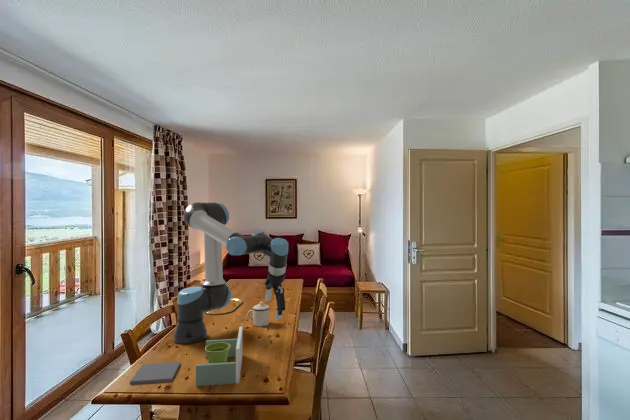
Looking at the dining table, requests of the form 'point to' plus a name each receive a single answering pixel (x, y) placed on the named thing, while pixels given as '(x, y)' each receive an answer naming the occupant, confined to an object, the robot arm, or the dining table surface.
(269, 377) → the dining table surface
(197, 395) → the dining table surface
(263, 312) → the teacup with lid
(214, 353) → the plant pot
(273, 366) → the dining table surface
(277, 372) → the dining table surface
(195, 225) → the robot arm
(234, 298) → the brass wire loop
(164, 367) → the slate mat
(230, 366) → the grey-green angled panels
